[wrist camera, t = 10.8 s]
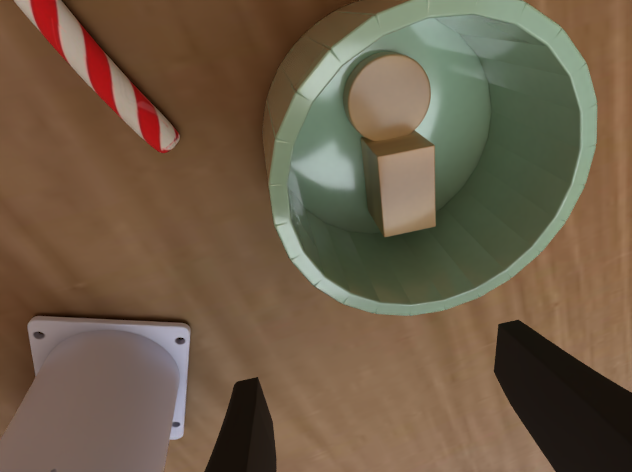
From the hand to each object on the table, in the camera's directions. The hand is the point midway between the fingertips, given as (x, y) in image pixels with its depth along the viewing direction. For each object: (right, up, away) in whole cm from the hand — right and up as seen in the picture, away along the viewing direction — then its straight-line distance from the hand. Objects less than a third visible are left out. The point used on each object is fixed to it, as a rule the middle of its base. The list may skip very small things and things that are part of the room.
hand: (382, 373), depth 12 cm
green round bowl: (+1, +9, +7) cm, 12 cm away
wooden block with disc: (+1, +9, +7) cm, 11 cm away
